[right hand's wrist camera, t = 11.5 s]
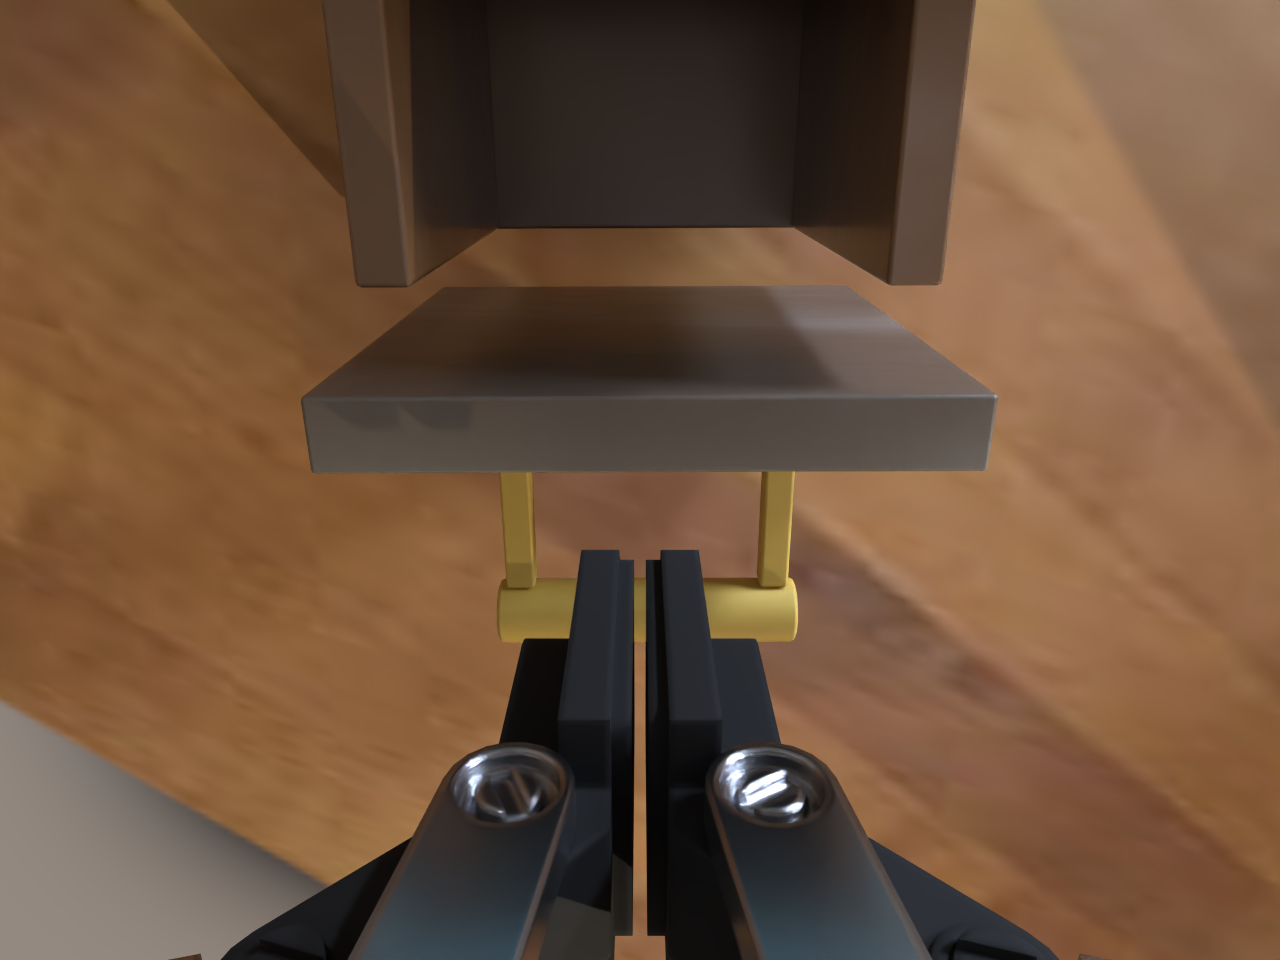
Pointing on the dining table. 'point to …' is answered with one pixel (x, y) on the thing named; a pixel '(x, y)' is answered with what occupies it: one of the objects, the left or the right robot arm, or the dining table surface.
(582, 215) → the drawer
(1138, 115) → the dining table surface
